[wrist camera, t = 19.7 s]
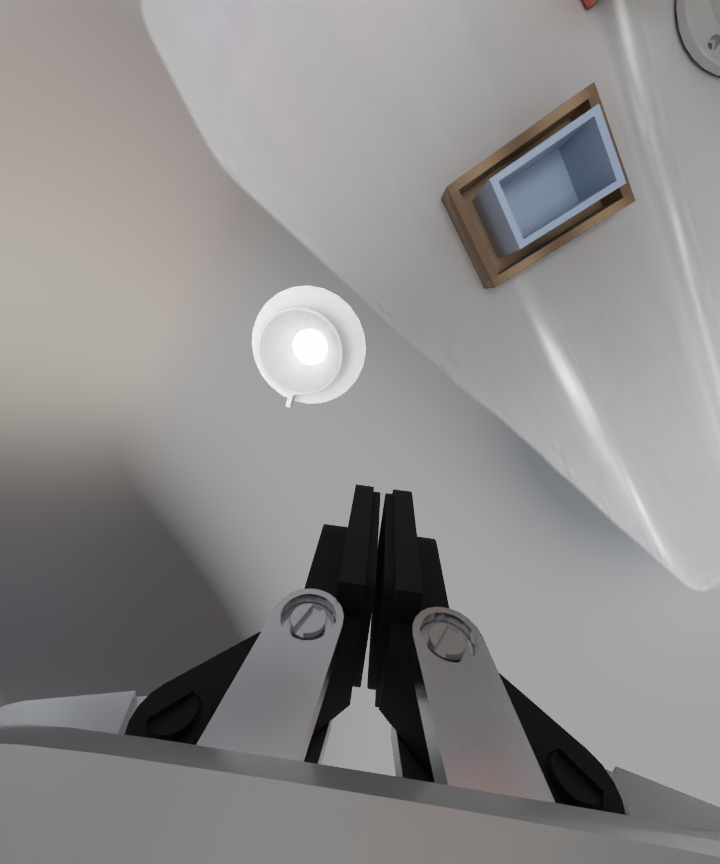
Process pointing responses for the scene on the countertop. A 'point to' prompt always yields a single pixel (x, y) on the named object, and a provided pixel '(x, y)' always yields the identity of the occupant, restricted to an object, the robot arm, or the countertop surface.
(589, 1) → the cracker box
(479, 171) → the walnut crate
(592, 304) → the countertop surface
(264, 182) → the countertop surface
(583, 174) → the slate crate
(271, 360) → the teacup
